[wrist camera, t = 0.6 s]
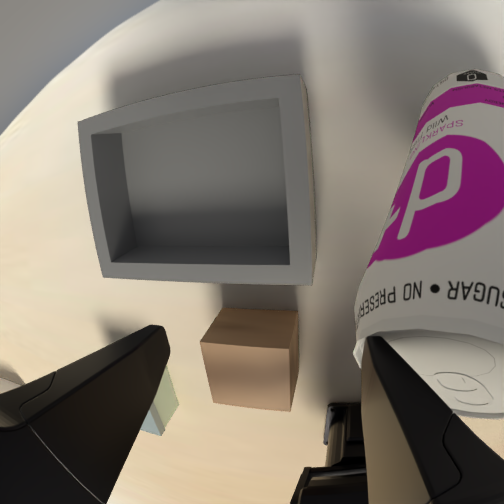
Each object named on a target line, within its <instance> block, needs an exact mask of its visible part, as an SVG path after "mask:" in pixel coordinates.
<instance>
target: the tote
mask: <svg viewBox="0 0 504 504" xmlns="http://www.w3.org/2000/svg"><path fill="white" fill-rule="evenodd" d="M78 132H79V143H80V153H81V162H82V170H83V178H84V185H85V192H86V198H87V204H88V210H89V216H90V221H91V226H92V231H93V236H94V241H95V246H96V250H97V255H98V259H99V263H100V267H101V271H102V275H103V277H104V278H120V279H137V280H156V281H177V282H201V283H229V284H264V285H312V283H313V277H314V270H315V264H316V222H315V197H314V177H313V160H312V146H311V133H310V120H309V109H308V99H307V89H306V87H305V85H304V82H303V80H302V78H301V76H300V74H294V75H282V76H272V77H263V78H255V79H247V80H240V81H233V82H227V83H221V84H215V85H210V86H204V87H199V88H194V89H190V90H185V91H180V92H176V93H172V94H167V95H163V96H159V97H155V98H152V99H148V100H144V101H140V102H137V103H133V104H130V105H127V106H123V107H120V108H117V109H114V110H111V111H107V112H104V113H101V114H98V115H96V116H93V117H90V118H87V119H84V120H82V121H79V122H78Z"/></svg>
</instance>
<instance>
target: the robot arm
mask: <svg viewBox="0 0 504 504" xmlns="http://www.w3.org/2000/svg"><path fill="white" fill-rule="evenodd" d="M169 356H170V345H169V342H168V338H167V335H166V331H165V329H164V327H163V326H159V325H149V326H147V327H145V328H143V329H141V330H138V331H136V332H134V333H132V334H130V335H128V336H126V337H124V338H122V339H120V340H118V341H116V342H114V343H112V344H110V345H108V346H106V347H104V348H102V349H100V350H98V351H96V352H94V353H92V354H90V355H88V356H85V357H83V358H81V359H79V360H77V361H75V362H73V363H71V364H69V365H67V366H65V367H63V368H60V369H58V370H57V371H54V372H52V373H50V374H48V375H46V376H43V377H41V378H39V379H37V380H34V381H32V382H30V383H27V384H25V385H22V386H20V387H17V388H14V389H12V390H9V391H6V392H4V393H1V394H0V504H107V501H108V499H109V497H110V495H111V492H112V490H113V488H114V486H115V483H116V481H117V479H118V477H119V474H120V472H121V470H122V468H123V466H124V463H125V461H126V459H127V457H128V455H129V452H130V450H131V448H132V446H133V444H134V442H135V439H136V437H137V435H138V433H139V431H140V429H141V426H142V424H143V422H144V420H145V418H146V416H147V414H148V411H149V409H150V407H151V405H152V403H153V401H154V399H155V396H156V394H157V391H158V388H159V385H160V382H161V379H162V376H163V374H164V371H165V368H166V365H167V362H168V359H169ZM332 408H334V409H332ZM323 443H324V445H328V446H327V455H326V463H325V467H313V468H311V467H305V468H304V470H303V473H302V474H301V476H300V479H299V481H298V484H297V486H296V489H295V492H294V494H293V497H292V499H291V502H290V504H504V460H503V459H502V458H501V457H500V456H499V455H498V454H497V453H495V452H494V451H493V450H492V449H491V448H490V447H489V446H487V445H486V444H485V443H484V442H483V441H482V440H481V439H480V438H479V437H478V436H477V435H475V433H474V432H473V431H472V430H471V429H470V428H469V427H468V426H467V425H466V424H465V423H464V422H463V421H462V420H461V419H460V418H459V417H458V416H457V415H456V414H455V413H453V410H452V409H451V408H450V407H449V406H448V405H447V404H446V403H445V402H444V401H443V400H442V399H441V398H440V397H439V395H438V394H437V393H436V392H435V391H434V390H433V389H432V388H431V387H430V386H429V385H428V384H427V383H426V382H425V381H424V380H423V379H422V378H421V376H420V375H419V374H418V373H417V372H416V371H415V370H414V369H413V368H412V367H411V366H410V365H409V364H408V363H407V362H406V361H405V360H404V359H403V358H402V357H401V356H400V355H399V354H398V353H397V352H396V351H395V350H394V349H393V348H392V347H391V346H390V344H389V343H388V342H387V341H386V340H385V339H384V338H383V337H381V336H367V337H366V338H365V342H364V349H363V355H362V362H361V404H339V403H332V404H329V405H328V408H327V418H326V426H325V434H324V442H323Z"/></svg>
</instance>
